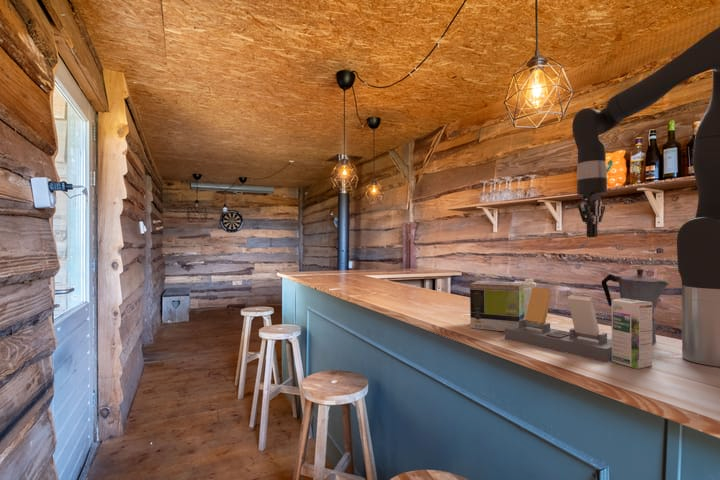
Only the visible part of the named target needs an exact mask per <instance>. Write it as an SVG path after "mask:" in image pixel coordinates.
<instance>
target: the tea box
mask: <svg viewBox="0 0 720 480" xmlns="http://www.w3.org/2000/svg"><path fill="white" fill-rule="evenodd" d="M520 282H521V281H485V280H476V281H474V282H471V283H469V306H470V307H469V308H470V309H469V310H470V311H469V312H470V315H469V316H470V317H469V318H470V328H471V329H477V330H487V331H497V332H505V328H508V327H512V326H516V325H519V320H522V319H524V288H525V287H524V285H523V283H520Z"/></svg>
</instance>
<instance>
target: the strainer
mask: <svg viewBox="0 0 720 480" xmlns="http://www.w3.org/2000/svg"><path fill="white" fill-rule="evenodd" d="M519 282H520V283H523V285H524V319H525V318H526V314H527V309H528V305H529V301H530V296H531V292H532V288H533V287H535V288H537V282H534V278H525V279H524V281H519ZM527 322H528V321H527Z"/></svg>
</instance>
